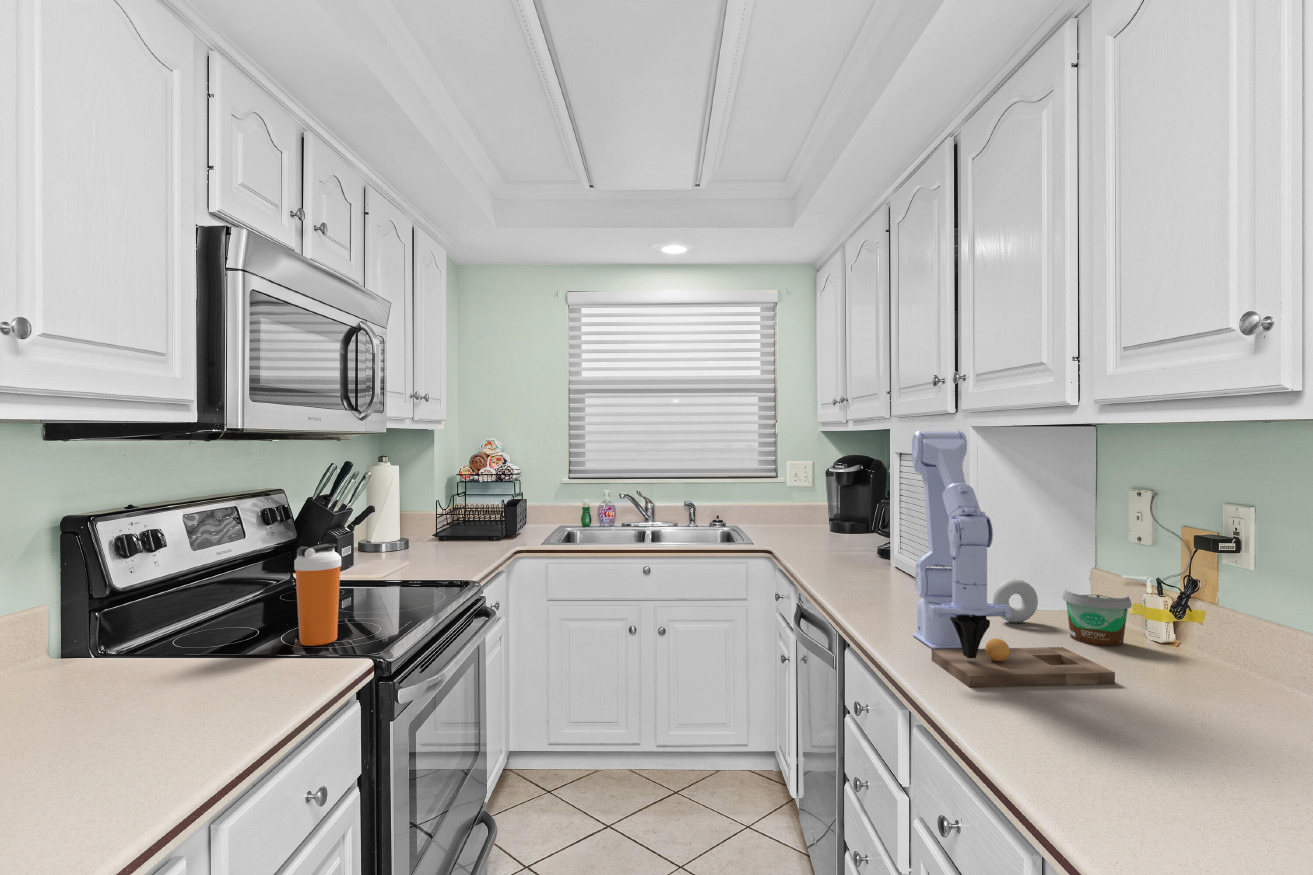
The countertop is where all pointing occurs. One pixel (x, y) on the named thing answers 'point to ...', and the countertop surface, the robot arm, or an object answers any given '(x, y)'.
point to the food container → (1097, 618)
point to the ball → (997, 649)
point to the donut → (1027, 596)
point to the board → (1023, 668)
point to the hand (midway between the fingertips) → (969, 656)
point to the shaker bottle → (317, 593)
